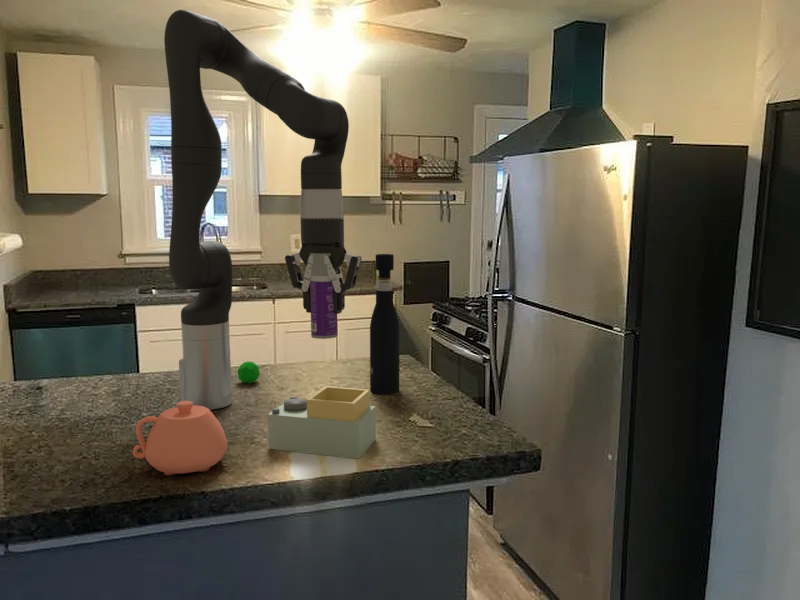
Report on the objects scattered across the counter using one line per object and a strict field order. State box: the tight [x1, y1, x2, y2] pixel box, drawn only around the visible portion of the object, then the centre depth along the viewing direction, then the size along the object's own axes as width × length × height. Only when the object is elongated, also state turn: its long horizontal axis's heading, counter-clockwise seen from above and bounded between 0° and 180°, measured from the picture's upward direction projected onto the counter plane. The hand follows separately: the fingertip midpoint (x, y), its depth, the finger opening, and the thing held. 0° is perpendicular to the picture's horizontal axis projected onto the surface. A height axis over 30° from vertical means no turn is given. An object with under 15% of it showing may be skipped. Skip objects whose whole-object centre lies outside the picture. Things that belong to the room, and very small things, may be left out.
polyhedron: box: [237, 361, 261, 384], centre depth 149 cm, size 5×5×5 cm
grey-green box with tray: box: [267, 385, 377, 459], centre depth 111 cm, size 16×9×9 cm, turn 75°
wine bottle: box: [369, 253, 400, 396], centre depth 141 cm, size 6×6×30 cm
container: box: [310, 253, 338, 340], centre depth 115 cm, size 5×5×15 cm
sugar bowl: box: [132, 400, 228, 476], centre depth 101 cm, size 12×14×10 cm
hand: (324, 312), depth 116 cm, fingers closed on container, 4 cm apart
